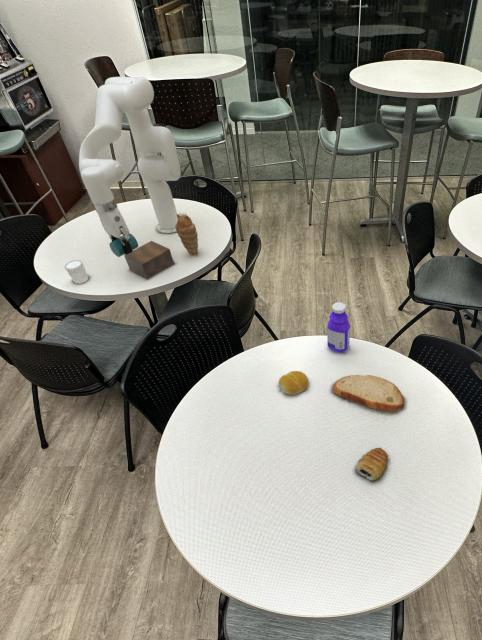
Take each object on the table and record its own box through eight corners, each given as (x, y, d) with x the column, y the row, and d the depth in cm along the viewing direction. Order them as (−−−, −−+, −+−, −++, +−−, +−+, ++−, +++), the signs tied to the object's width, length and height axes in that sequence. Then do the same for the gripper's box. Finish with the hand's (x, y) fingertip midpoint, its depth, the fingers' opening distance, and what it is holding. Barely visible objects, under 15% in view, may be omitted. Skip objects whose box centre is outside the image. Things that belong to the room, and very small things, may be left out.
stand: (156, 255, 185) (151, 240, 180) (174, 263, 180) (169, 249, 174) (129, 270, 177) (123, 255, 172) (147, 279, 172) (141, 264, 167)
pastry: (371, 446, 115) (372, 438, 112) (393, 458, 112) (395, 450, 109) (353, 471, 110) (353, 464, 107) (375, 485, 107) (377, 477, 104)
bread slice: (328, 385, 131) (328, 376, 128) (380, 367, 135) (380, 359, 132) (354, 428, 119) (355, 420, 117) (409, 407, 124) (411, 399, 121)
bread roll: (313, 387, 130) (312, 378, 127) (288, 399, 127) (287, 390, 124) (299, 371, 135) (298, 362, 132) (274, 382, 132) (273, 374, 129)
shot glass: (84, 285, 171) (76, 270, 166) (69, 283, 172) (60, 268, 167) (93, 275, 175) (85, 260, 170) (78, 274, 177) (70, 259, 171)
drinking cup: (131, 245, 170) (126, 231, 165) (140, 249, 167) (135, 235, 163) (113, 254, 165) (107, 240, 161) (122, 259, 163) (116, 245, 158)
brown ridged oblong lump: (180, 256, 183) (167, 217, 170) (190, 247, 188) (179, 208, 175) (197, 260, 181) (186, 220, 167) (207, 251, 186) (197, 211, 172)
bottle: (351, 345, 142) (353, 303, 129) (345, 355, 139) (346, 314, 126) (331, 339, 145) (331, 297, 132) (325, 350, 141) (324, 308, 128)
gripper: (128, 207, 150) (145, 252, 163) (100, 195, 157) (119, 240, 171) (110, 215, 146) (129, 261, 159) (82, 203, 153) (103, 248, 167)
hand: (123, 250), depth 165 cm, fingers closed on drinking cup, 5 cm apart
